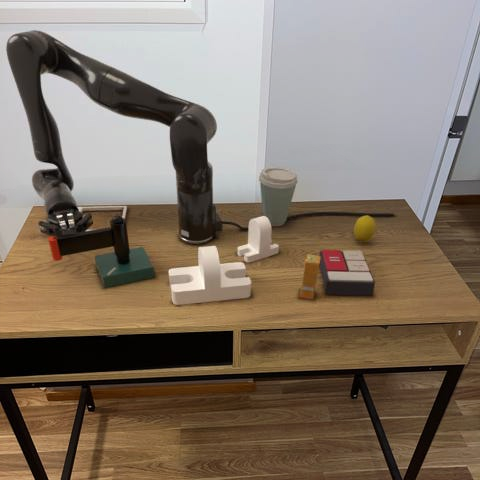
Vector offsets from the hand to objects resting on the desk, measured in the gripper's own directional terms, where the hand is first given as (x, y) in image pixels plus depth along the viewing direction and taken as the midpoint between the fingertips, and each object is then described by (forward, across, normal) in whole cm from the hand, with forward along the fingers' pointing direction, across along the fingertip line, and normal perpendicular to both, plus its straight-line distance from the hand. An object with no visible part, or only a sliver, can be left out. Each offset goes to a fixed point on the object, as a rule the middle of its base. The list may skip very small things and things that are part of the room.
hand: (72, 240), depth 113 cm
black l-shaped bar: (+1, +4, +5) cm, 6 cm away
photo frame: (-27, +8, +10) cm, 30 cm away
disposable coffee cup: (-9, +56, +10) cm, 58 cm away
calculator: (+23, +60, +10) cm, 65 cm away
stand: (+1, +11, +10) cm, 15 cm away
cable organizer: (+5, +45, +10) cm, 46 cm away
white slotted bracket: (+16, +27, +10) cm, 33 cm away
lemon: (+10, +74, +10) cm, 75 cm away
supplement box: (+26, +48, +10) cm, 55 cm away
